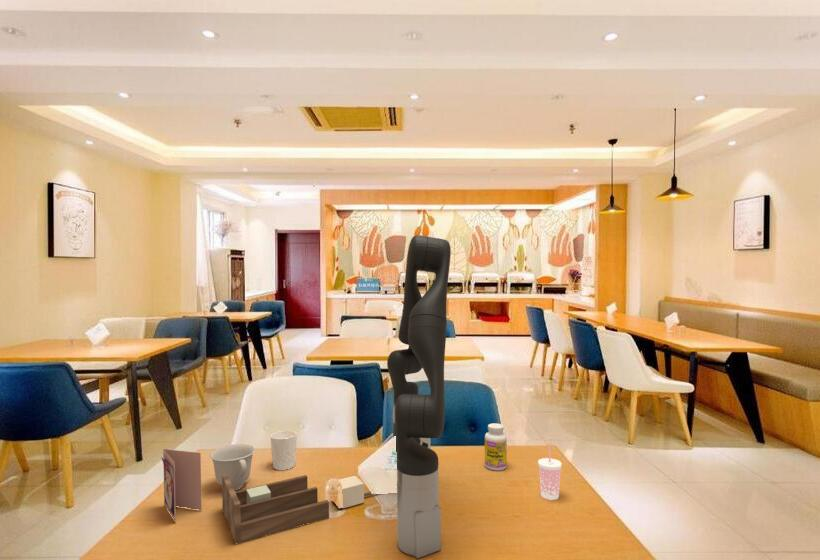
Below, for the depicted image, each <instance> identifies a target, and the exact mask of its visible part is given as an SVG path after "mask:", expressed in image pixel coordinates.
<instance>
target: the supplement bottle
mask: <svg viewBox="0 0 820 560" xmlns="http://www.w3.org/2000/svg"><path fill="white" fill-rule="evenodd" d="M487 430H488V432H487V431H486V433H485V435H484V466H485V467H486V468H487V469H488V470H491V471H497V472H498V471H503V470H505V469H506V468H507V464H508V463H507V462H508V461H507V455H508V454H507V453H508V451H507V445H508V443H507V439H508V438H507V435H506V434H505V433H504V425H503V424H502V423H498V422H497V423H489V424H488V425H487Z"/></svg>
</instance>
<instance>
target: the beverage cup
mask: <svg viewBox="0 0 820 560" xmlns="http://www.w3.org/2000/svg"><path fill="white" fill-rule="evenodd" d="M551 445H552V444H551V443H548V457H544V458H540V459H538V461H537V465H538V471H539V484H540V496H541V497H542V498H543V499H545V500H550V501H551V500H552V501H553V500H558V499H559V498H560V486H561V485H560V483H561V470H562V465H563V464H562V462H561V461H560V460H558V459H556V458H552V457H551V455H552V454H551V447H552V446H551Z"/></svg>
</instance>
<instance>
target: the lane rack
mask: <svg viewBox="0 0 820 560" xmlns="http://www.w3.org/2000/svg"><path fill="white" fill-rule="evenodd" d="M264 485H267V487H268V489H269V490H270V492H271V498H269V499H265V500H261V501H257V502H253V503H249V504H247V496H246V489H251V488H255V487H259V486H264ZM221 492H222V493H221V494H222V495H221V498H222V499H221V500H222V501H221V506H222V512H223V511H224V513H223V515H224V514H225V515H224V517H226V518H225V520H226V519H227V521H226V523H227V522H228V523H227V526H228V525H229V526H228V528H230V529H229V531H230V530H231V531H230V534H231V533H232V534H231V537H232V536H233V537H232V539H234V540H233V542H234V541H235V542H234V545H235V544H236V543H240V544H242V543H241V542H243V543H245V542H244V541H247V540H250V541H252V540H251V539H254V540H256V539H255V538H257V539H259V538H258V537H261V538H263V537H262V536H264V537H266V536H265V535H268V536H270V535H269V534H271V535H274V534H273V533H275V534H278V533H281V531H282V532H284V530H285V531H288V529H289V530H292V529H294V527H296V528H298V527H297V526H299V527H301V526H300V525H303V524H306V525H308V524H307V523H310V524H312V522H313V523H316V522H315V521H317V522H319V521H323V520H327V519H329V518H330V501H329V500H328V499H326V500H322V501H318V500H319V499H318V497H319V496H318V487H317V486H314V487H310V488H308V476H307V475H306V474H305V475H300V476H297V477H291V478H289V479H288V478H287V479H283V480H279V481H278V480H277V481H274V482H270V483H266V484H261V485H258V486H254V487H253V486H252V487H248V488H243V489H238V490H234V488H233V486H232V484H231V482H230V480H229V477H228V475H227V474H224V475H222V485H221ZM303 526H304V525H303ZM291 528H292V529H291ZM277 532H278V533H277ZM247 542H248V541H247ZM236 545H237V544H236Z"/></svg>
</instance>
